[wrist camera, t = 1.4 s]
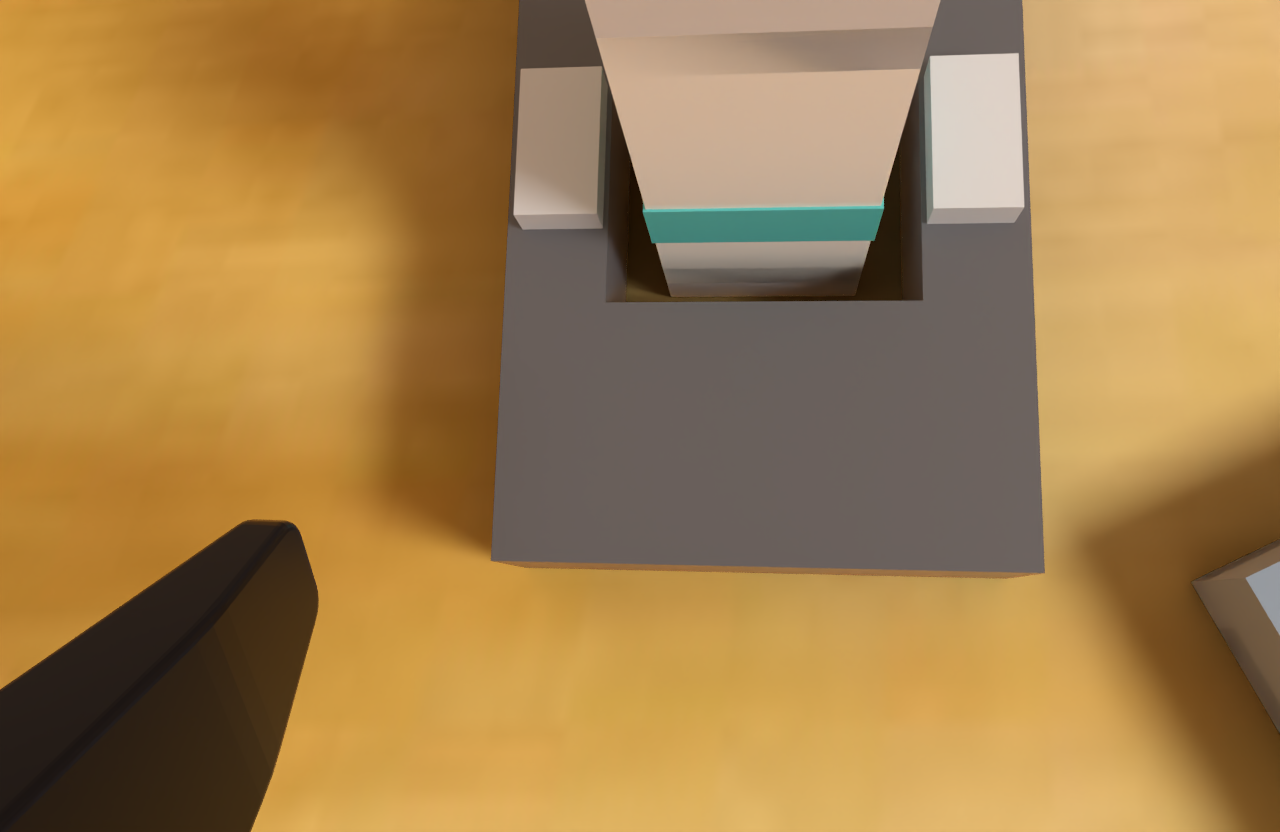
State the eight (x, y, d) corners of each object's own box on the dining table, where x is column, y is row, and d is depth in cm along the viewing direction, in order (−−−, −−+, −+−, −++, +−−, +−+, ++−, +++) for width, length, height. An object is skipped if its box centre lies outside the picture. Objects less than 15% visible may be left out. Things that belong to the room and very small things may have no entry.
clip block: (1007, 578, 22) (1057, 571, 18) (525, 567, 23) (479, 558, 19) (983, -125, 25) (1022, -255, 21) (555, -104, 26) (521, -224, 22)
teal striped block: (857, 297, 23) (952, -19, 12) (668, 298, 24) (577, -5, 12) (855, 121, 24) (943, -345, 12) (672, 125, 25) (590, -320, 13)
